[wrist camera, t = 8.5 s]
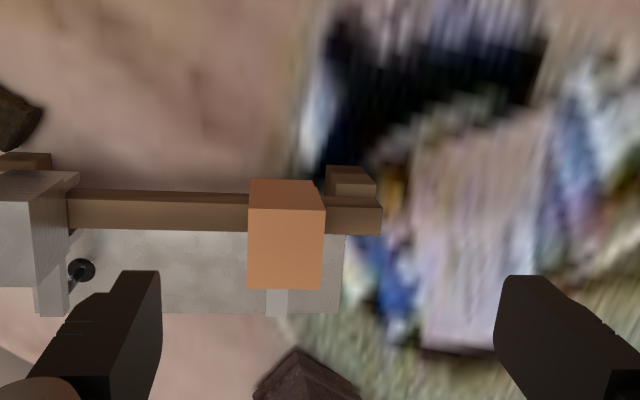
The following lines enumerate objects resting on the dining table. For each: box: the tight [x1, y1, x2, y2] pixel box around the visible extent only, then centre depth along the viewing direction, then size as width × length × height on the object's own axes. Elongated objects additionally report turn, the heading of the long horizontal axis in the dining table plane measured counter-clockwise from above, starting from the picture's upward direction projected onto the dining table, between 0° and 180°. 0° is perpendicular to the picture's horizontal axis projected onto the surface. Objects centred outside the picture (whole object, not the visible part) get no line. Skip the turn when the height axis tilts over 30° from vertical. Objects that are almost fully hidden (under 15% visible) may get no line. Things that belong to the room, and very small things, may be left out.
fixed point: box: [0, 169, 85, 317], centre depth 33 cm, size 11×4×12 cm, turn 176°
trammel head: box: [246, 178, 326, 317], centre depth 35 cm, size 11×4×12 cm, turn 176°
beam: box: [0, 152, 383, 235], centre depth 37 cm, size 4×28×8 cm, turn 86°
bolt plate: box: [32, 229, 345, 313], centre depth 43 cm, size 8×26×1 cm, turn 86°
